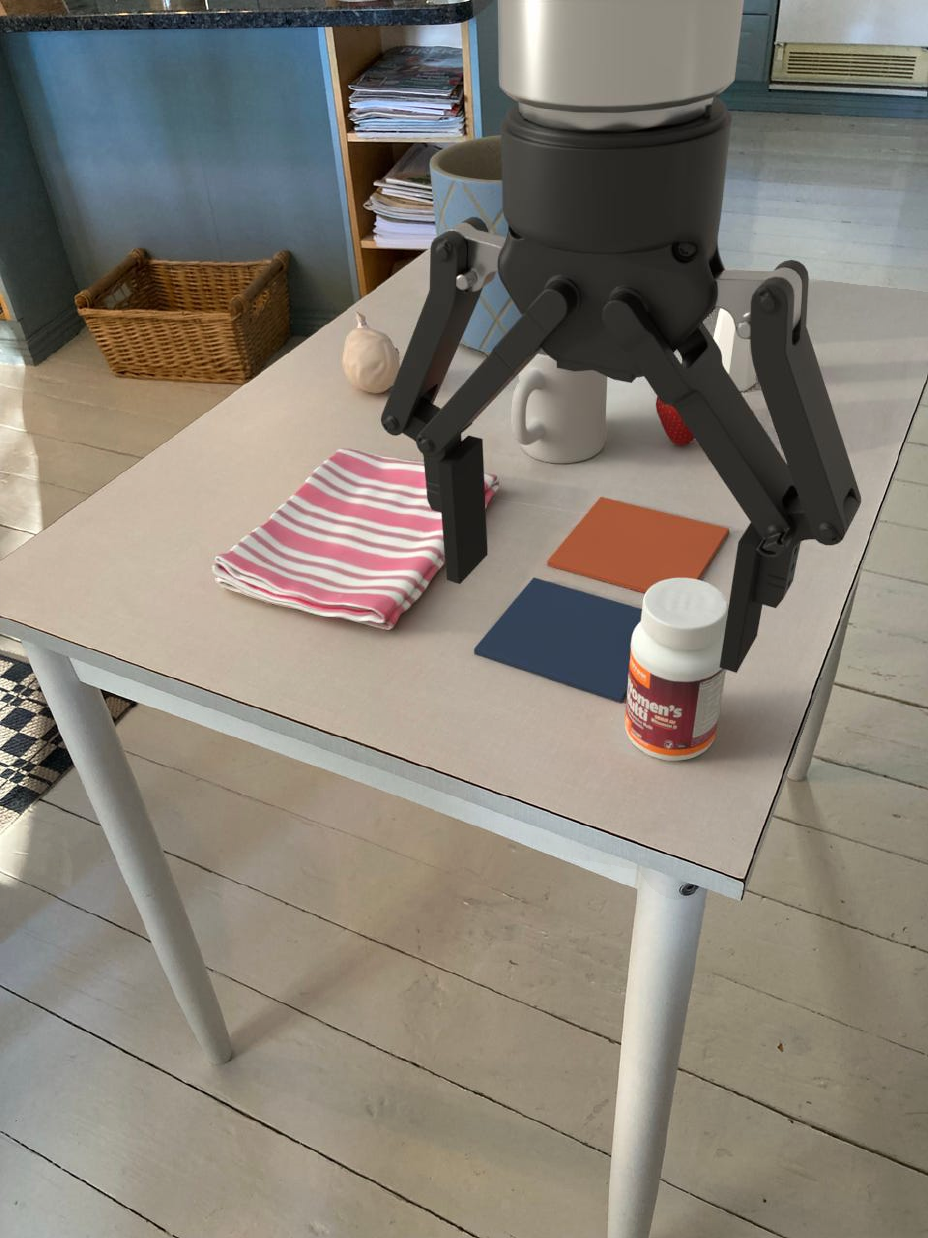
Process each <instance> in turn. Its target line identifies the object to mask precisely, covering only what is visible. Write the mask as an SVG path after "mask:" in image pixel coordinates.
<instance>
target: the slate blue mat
mask: <svg viewBox="0 0 928 1238" xmlns="http://www.w3.org/2000/svg"><path fill="white" fill-rule="evenodd" d="M641 614H642V608H640V607H636V606H633V605H630V604H626V603H622V602H620V601H617V600H613V599H609V598H606V597H602V596H598V595H595V594H592V593H589V592H585V591H582V590H580V589H579V590H578V589H576V588H571V587H568V586H564V585H561V584H557V583H554V582H551V581H548V580H545V579H541V578H538V577H532V579H531V580H530V581H529V583H527V584H526V586H525V587H524V588H523V589H522V591H521V592H520V593H519V594H518V595H517V596H516V598H515V599H514V600H513V601H512V603H511V604H510V605H509V606H508V607H507V609H506V610H505V611H504V612H503V613H502V615H500V617H499V618H498V619H497V621H496V622H495V623H494V624H493V625H492V627H491V628H490V629H489V630H488V631H487V633H486V634H485V635H484V636H483V637H482V638H481V639H480V641H479V642H478V644H476V646H475V647H474V649H473V654H474V655H477V656H479V657H483V658H486V659H488V660H489V659H490V660H492V661H494V662H498V663H501V664H503V665H506V666H510V667H512V668H515V669H518V670H521V671H524V672H528V673H530V674H533V675H537V676H540V677H542V678H545V679H549V680H551V681H555V682H557V683H560V684H563V685H566V686H569V687H572V688H575V689H578V690H582V691H584V692H586V693H590V694H593V695H596V696H599V697H602V698H605V699H607V700H611V701H614V702H615V703H616V702H617V703H620V704H622V703H623V701H624V700H625V699H626V698H627V689H628V673H629V663H630V644H631V639H632V635H633V632H634V629H635V628H636V626H637V625H638V624H639V622H640V621H641Z"/></svg>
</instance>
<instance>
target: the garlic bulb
mask: <svg viewBox="0 0 928 1238" xmlns="http://www.w3.org/2000/svg"><path fill="white" fill-rule="evenodd" d="M354 315H355V318H356V321H357V326H356V327H355V328H353V329H352V330H351V331H350V332H349V333H348V334H347V336H346V338H345V341H344V348H343V353H342V358H341V364H342V368H343V371H344V373H345V375H346V377H347V379H348V381H349V382H350V383H351V384H352V385H353V386H354V387H355V388H357V389H359V390H362V391H365V392H368V393H370V394H371V393H372V394H381V393H383V392H386V391H388V390H389V389H390V388H392V387H393V384H394V381H395V379H396V376H397V374H398V371H399V368H400V366H401V363H400V361H401V356H400V351H399V349H398V347H395V345H394V343H393V341H392V340H391V338H390V336H389V335H388V334H386V333H385V332H382V331H380V330H377V329H373V328H371V327H369V324H367V322H366V316H365V315H363V314H361V313H360V312H359V311H357V310H354Z"/></svg>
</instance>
